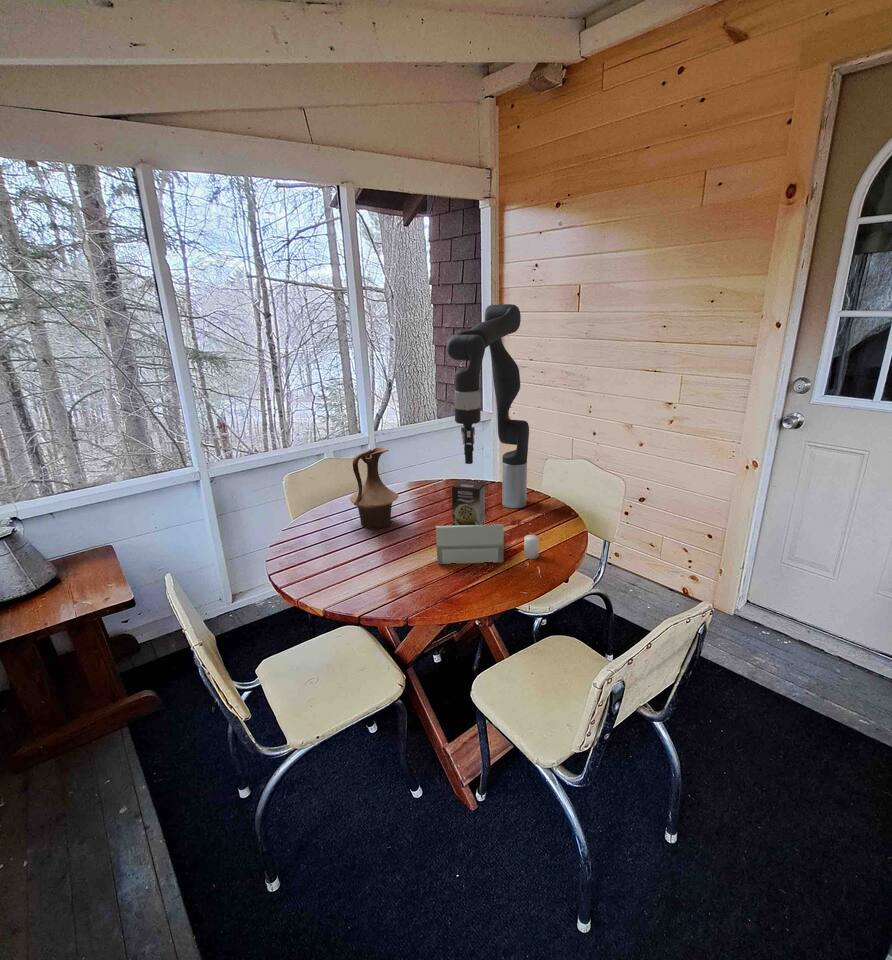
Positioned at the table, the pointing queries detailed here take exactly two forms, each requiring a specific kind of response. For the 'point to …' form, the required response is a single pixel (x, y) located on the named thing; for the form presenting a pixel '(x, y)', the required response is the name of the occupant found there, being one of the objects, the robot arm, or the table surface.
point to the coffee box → (468, 503)
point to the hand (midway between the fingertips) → (468, 459)
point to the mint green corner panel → (470, 543)
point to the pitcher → (372, 492)
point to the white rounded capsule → (531, 546)
